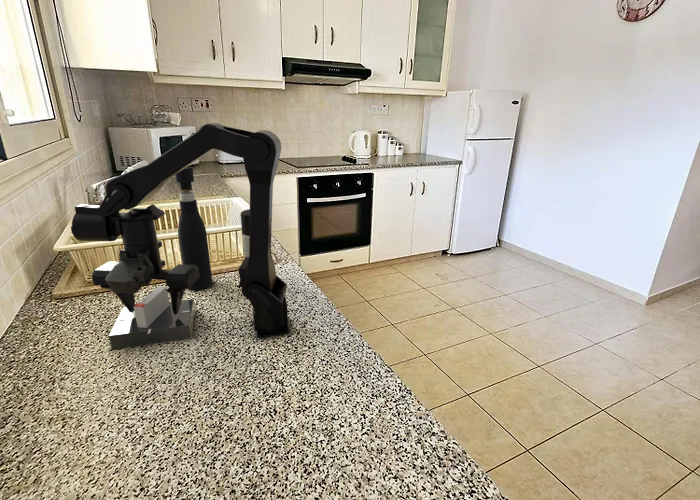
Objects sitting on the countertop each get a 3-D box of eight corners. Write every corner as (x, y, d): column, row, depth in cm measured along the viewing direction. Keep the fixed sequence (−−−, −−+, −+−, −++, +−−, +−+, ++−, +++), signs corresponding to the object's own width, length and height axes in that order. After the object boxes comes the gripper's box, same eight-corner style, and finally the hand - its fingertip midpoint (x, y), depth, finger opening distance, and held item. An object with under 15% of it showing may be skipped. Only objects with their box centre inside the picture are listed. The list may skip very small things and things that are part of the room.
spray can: (270, 293, 93) (265, 215, 86) (243, 292, 93) (236, 215, 86) (276, 281, 99) (271, 208, 92) (250, 280, 99) (244, 207, 92)
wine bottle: (217, 283, 97) (204, 167, 86) (196, 292, 92) (179, 170, 81) (202, 277, 100) (186, 164, 90) (180, 286, 95) (162, 167, 85)
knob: (162, 304, 81) (158, 284, 79) (170, 304, 81) (166, 285, 79) (137, 327, 72) (133, 306, 71) (146, 328, 72) (142, 306, 70)
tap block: (195, 308, 85) (194, 296, 84) (190, 341, 74) (188, 327, 72) (127, 316, 81) (124, 304, 80) (110, 352, 70) (106, 338, 69)
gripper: (59, 254, 63) (81, 332, 69) (166, 259, 63) (179, 337, 68) (103, 233, 74) (119, 303, 79) (195, 237, 73) (205, 307, 79)
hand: (154, 312), depth 76 cm, fingers open, 9 cm apart
